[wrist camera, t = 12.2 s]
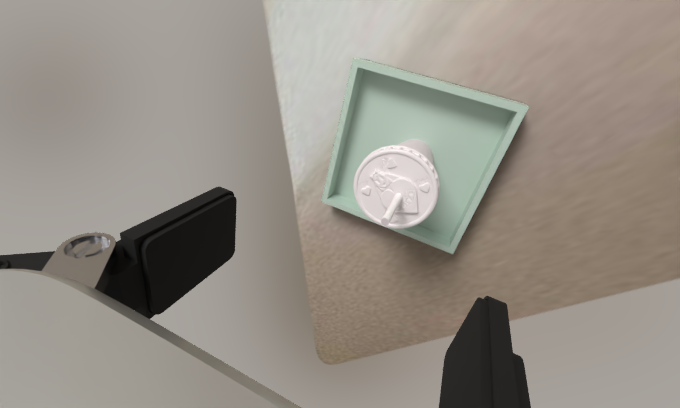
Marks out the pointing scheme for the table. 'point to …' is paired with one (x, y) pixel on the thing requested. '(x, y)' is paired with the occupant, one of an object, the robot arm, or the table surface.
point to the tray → (429, 126)
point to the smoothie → (398, 184)
